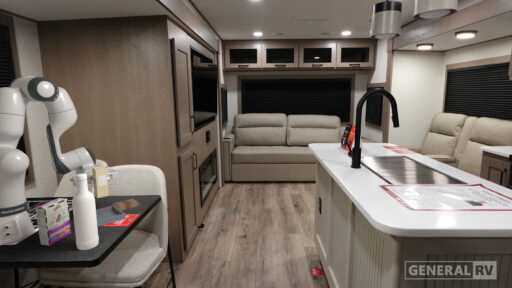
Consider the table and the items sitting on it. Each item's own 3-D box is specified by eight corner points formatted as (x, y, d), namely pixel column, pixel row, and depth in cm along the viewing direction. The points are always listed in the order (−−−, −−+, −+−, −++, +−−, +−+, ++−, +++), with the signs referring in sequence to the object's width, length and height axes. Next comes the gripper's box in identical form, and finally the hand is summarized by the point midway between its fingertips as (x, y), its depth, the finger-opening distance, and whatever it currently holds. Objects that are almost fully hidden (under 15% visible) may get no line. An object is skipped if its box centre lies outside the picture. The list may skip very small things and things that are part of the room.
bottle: (72, 247, 116) (64, 175, 111) (91, 238, 123) (85, 170, 118) (83, 252, 112) (76, 178, 107) (103, 243, 119) (96, 173, 114)
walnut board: (119, 211, 151) (119, 210, 151) (111, 205, 159) (111, 203, 159) (141, 205, 160) (141, 204, 159) (132, 200, 168) (132, 198, 168)
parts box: (97, 198, 136) (95, 169, 134) (94, 195, 140) (91, 167, 138) (109, 195, 140) (106, 167, 138) (105, 193, 144) (103, 165, 141)
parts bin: (91, 229, 131) (90, 223, 131) (81, 219, 142) (81, 213, 141) (125, 219, 142) (125, 213, 142) (114, 210, 153) (113, 205, 152)
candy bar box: (62, 232, 128) (58, 197, 126) (72, 233, 127) (68, 198, 125) (39, 245, 118) (34, 207, 115) (49, 246, 117) (44, 208, 114)
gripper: (67, 173, 140) (75, 179, 130) (112, 166, 154) (122, 170, 145) (69, 185, 141) (77, 192, 131) (113, 177, 155) (123, 183, 146)
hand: (101, 181), depth 138 cm, fingers closed on parts box, 5 cm apart
